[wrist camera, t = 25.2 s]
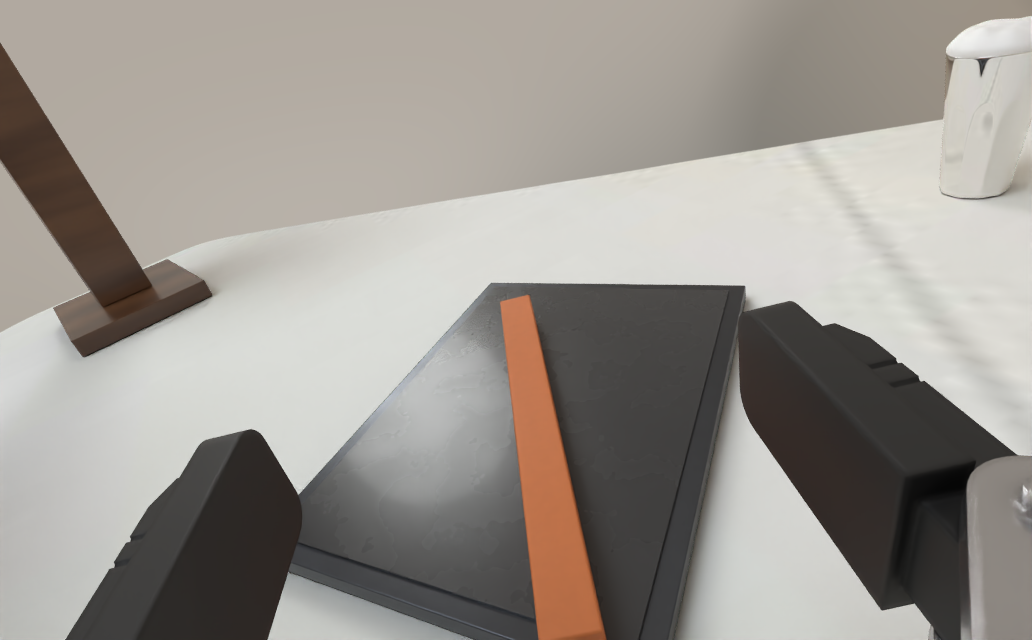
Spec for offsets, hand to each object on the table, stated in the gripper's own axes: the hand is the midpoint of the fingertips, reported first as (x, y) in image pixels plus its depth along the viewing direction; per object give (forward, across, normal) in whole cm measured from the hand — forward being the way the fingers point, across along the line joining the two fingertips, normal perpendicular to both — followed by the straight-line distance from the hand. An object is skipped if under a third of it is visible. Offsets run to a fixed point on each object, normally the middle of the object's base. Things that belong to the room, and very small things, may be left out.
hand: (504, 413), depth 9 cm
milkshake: (+22, -28, +10) cm, 37 cm away
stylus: (+10, 0, +9) cm, 13 cm away
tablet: (+12, 0, +10) cm, 16 cm away
